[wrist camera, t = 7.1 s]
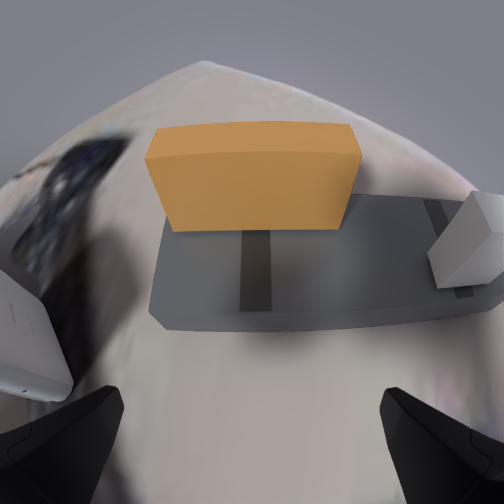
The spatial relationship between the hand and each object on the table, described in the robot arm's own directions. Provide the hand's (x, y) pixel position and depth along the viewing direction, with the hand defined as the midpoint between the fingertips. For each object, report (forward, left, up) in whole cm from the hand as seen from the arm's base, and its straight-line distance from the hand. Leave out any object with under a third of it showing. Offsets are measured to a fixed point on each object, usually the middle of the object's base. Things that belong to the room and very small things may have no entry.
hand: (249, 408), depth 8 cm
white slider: (+6, -17, -7) cm, 20 cm away
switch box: (+9, -10, -11) cm, 18 cm away
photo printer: (+6, +18, -12) cm, 22 cm away
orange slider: (+13, -2, -7) cm, 15 cm away
